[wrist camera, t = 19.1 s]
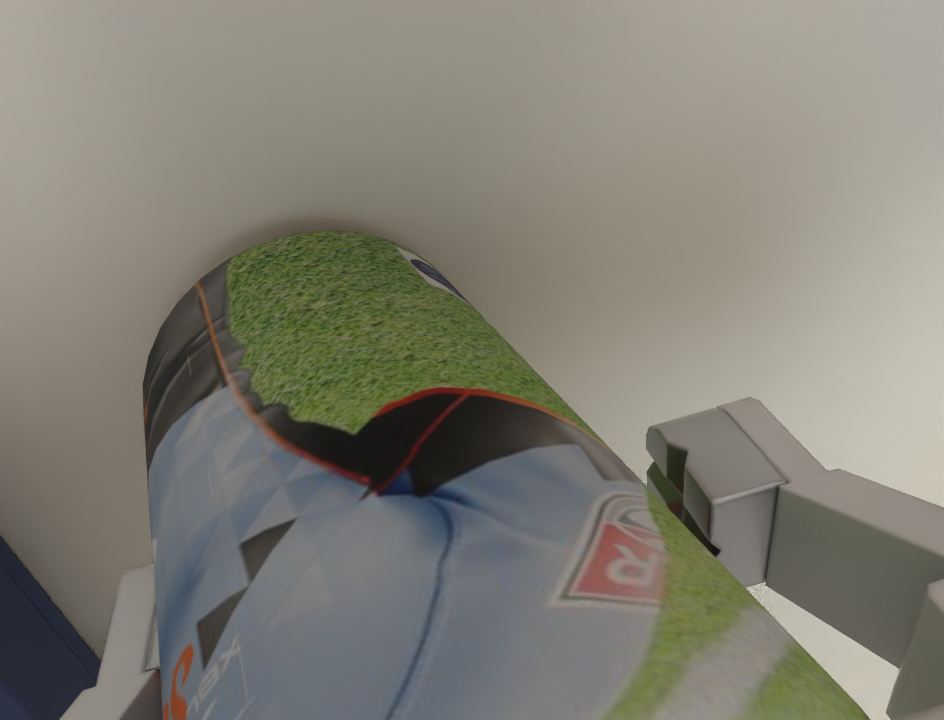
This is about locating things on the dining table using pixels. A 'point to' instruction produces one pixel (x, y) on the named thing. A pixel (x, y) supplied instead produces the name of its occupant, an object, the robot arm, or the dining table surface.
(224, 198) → the dining table surface
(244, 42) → the dining table surface
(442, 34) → the dining table surface
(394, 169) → the dining table surface
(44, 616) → the navy tray
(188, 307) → the beverage can
